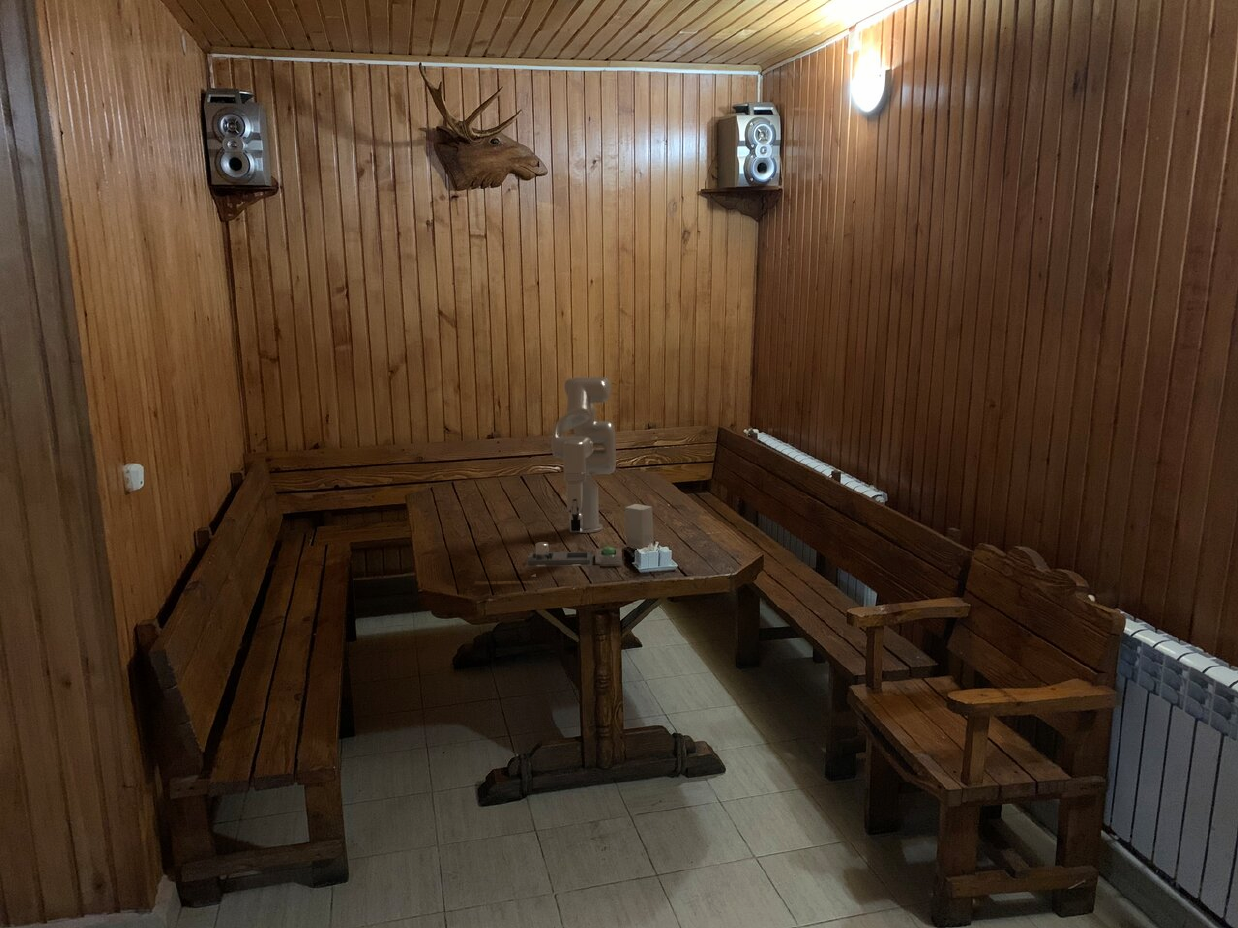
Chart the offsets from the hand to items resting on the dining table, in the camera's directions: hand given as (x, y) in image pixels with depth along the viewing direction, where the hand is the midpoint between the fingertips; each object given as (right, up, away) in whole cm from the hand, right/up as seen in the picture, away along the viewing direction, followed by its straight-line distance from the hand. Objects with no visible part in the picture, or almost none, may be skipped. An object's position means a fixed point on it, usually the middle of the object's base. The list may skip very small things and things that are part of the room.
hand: (576, 528), depth 309 cm
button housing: (+11, -12, +3) cm, 17 cm away
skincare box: (+22, -9, +18) cm, 30 cm away
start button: (+11, -10, +2) cm, 15 cm away
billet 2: (0, -1, 0) cm, 1 cm away
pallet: (-6, -12, +3) cm, 14 cm away
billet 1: (-12, -11, +3) cm, 17 cm away
